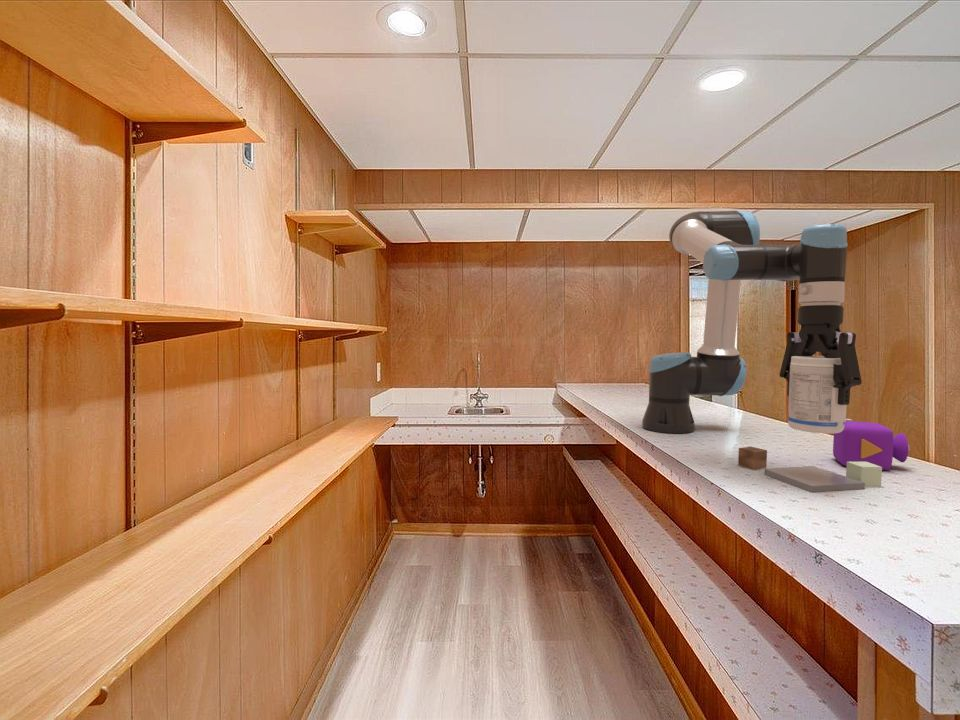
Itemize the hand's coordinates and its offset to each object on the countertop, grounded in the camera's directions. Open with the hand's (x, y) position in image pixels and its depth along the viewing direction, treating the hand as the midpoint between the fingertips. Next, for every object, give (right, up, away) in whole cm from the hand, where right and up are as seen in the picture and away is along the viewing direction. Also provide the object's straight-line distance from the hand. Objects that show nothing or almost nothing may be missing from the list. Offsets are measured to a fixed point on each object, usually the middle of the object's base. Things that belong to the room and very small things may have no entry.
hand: (815, 416), depth 101 cm
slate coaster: (0, -13, +1) cm, 13 cm away
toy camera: (+21, -13, +13) cm, 28 cm away
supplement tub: (0, -3, 0) cm, 3 cm away
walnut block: (-6, -12, +12) cm, 18 cm away
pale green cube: (+9, -13, 0) cm, 16 cm away
